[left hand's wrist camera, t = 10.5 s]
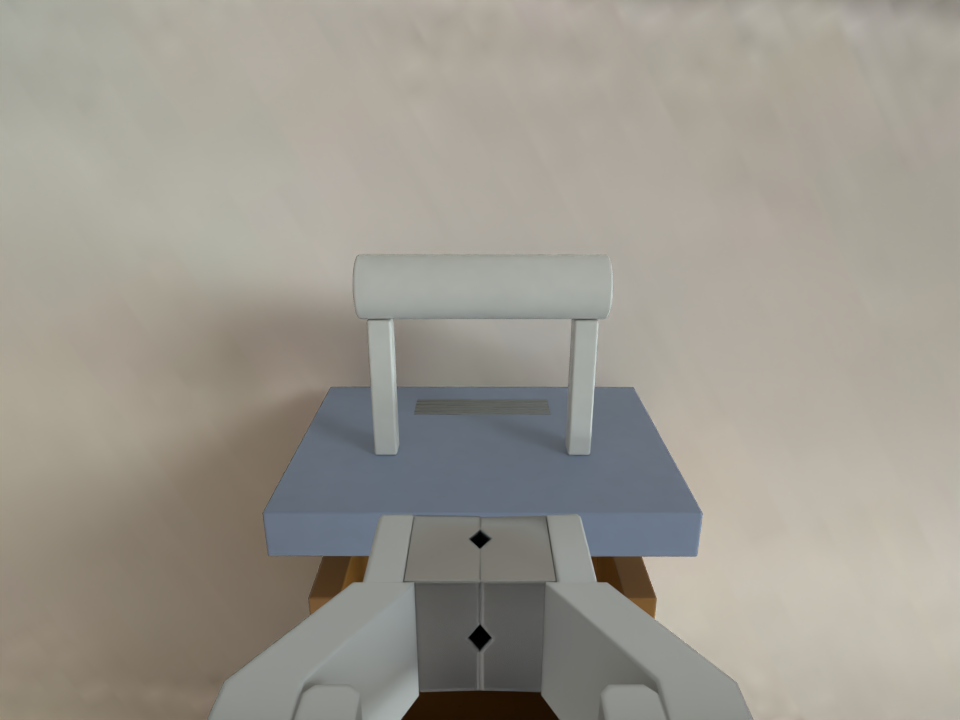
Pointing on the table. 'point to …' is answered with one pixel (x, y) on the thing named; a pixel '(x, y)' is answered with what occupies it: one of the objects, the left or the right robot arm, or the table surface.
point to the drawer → (483, 444)
